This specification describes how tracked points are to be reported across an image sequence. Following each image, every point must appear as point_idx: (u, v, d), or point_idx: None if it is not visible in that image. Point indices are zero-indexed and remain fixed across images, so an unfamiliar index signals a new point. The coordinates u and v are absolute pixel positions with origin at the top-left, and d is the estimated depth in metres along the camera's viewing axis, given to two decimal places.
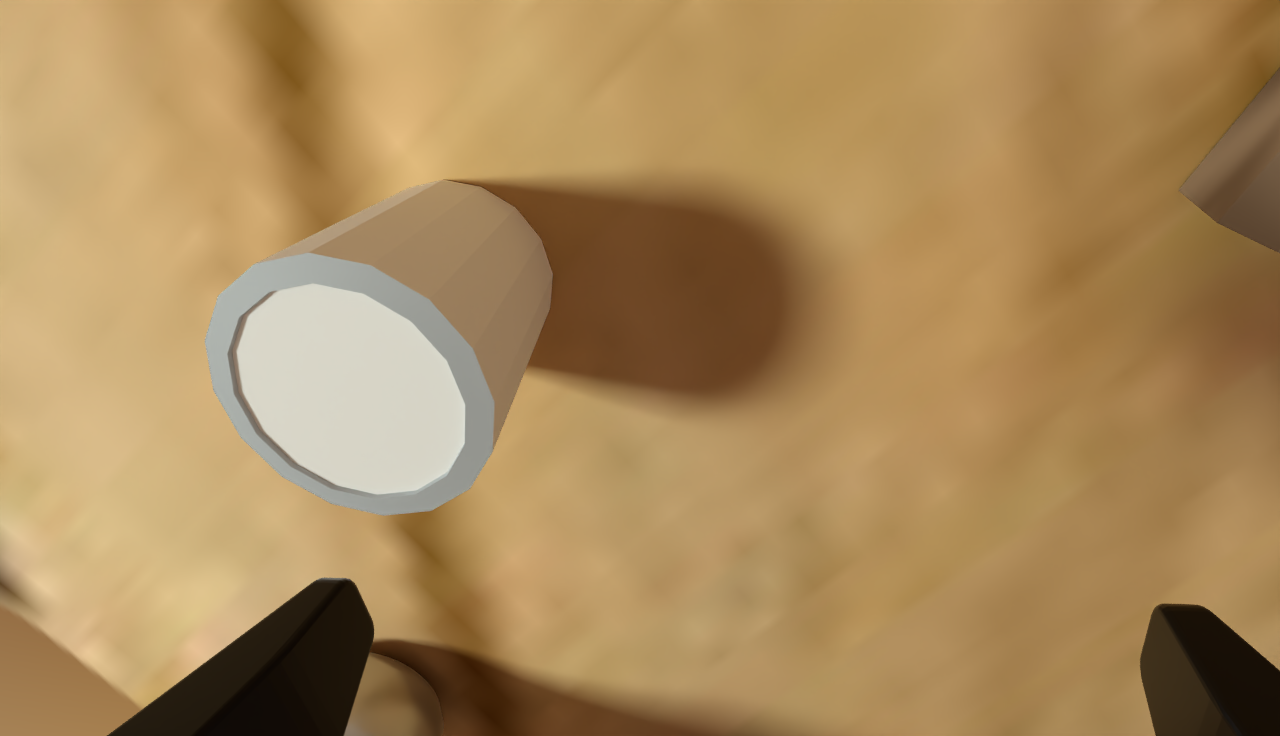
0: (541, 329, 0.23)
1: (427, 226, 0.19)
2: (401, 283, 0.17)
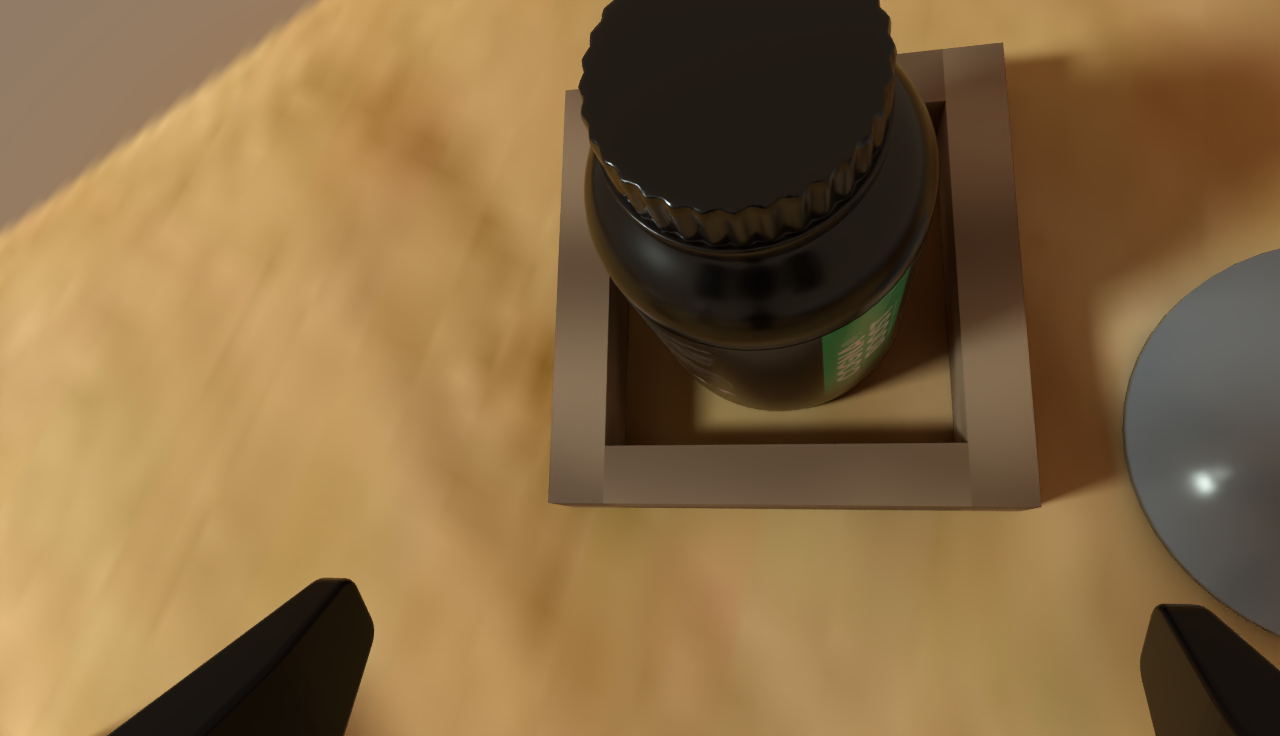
0: None
1: None
2: None
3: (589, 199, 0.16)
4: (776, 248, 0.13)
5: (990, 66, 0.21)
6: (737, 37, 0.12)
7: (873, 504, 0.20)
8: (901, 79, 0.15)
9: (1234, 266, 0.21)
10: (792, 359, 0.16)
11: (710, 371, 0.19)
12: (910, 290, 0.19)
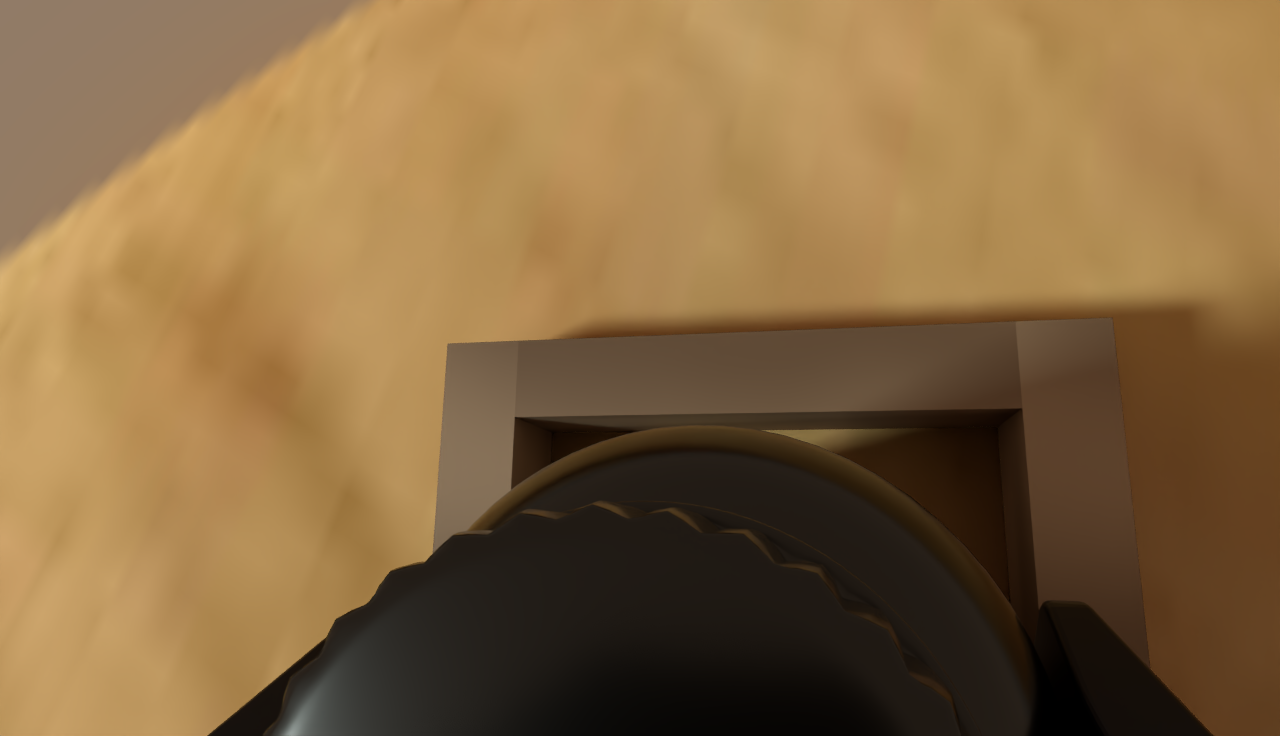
0: None
1: None
2: None
3: None
4: None
5: (1093, 356, 0.14)
6: None
7: None
8: (1004, 662, 0.07)
9: None
10: None
11: None
12: None
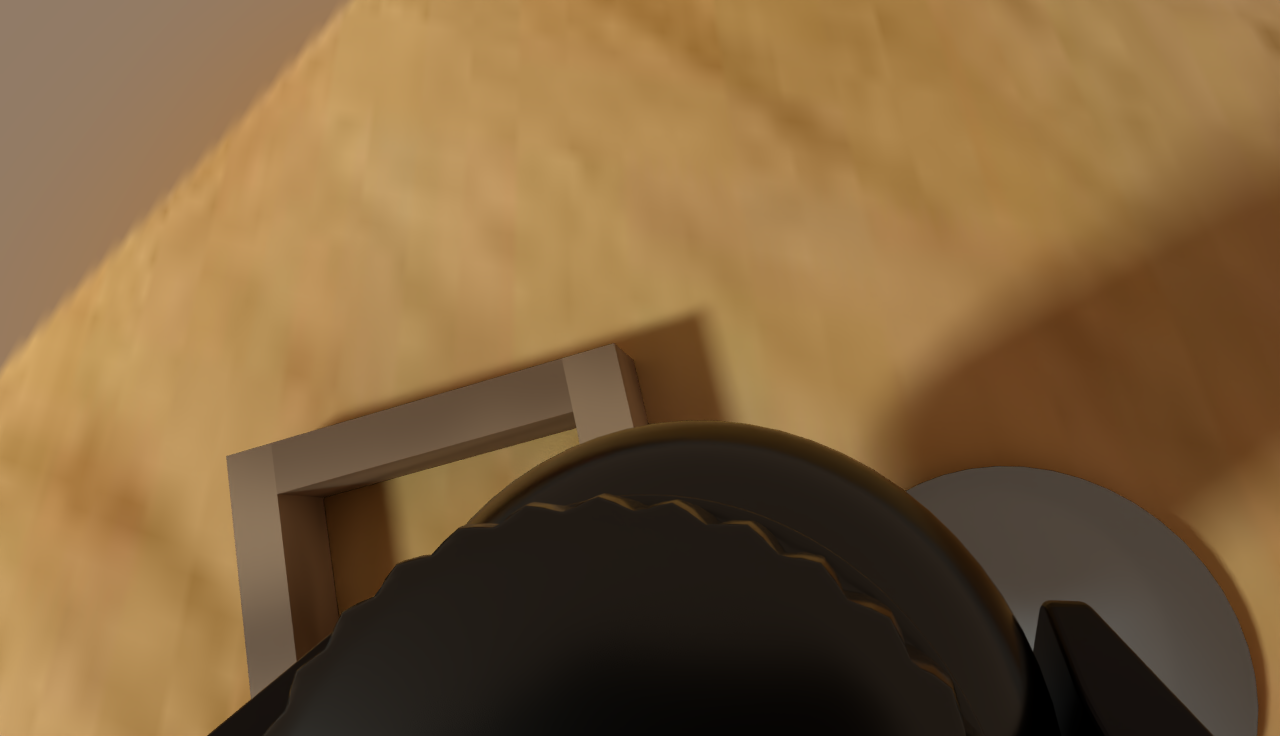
0: None
1: None
2: None
3: None
4: None
5: (607, 369, 0.22)
6: None
7: None
8: (997, 652, 0.07)
9: None
10: None
11: None
12: None
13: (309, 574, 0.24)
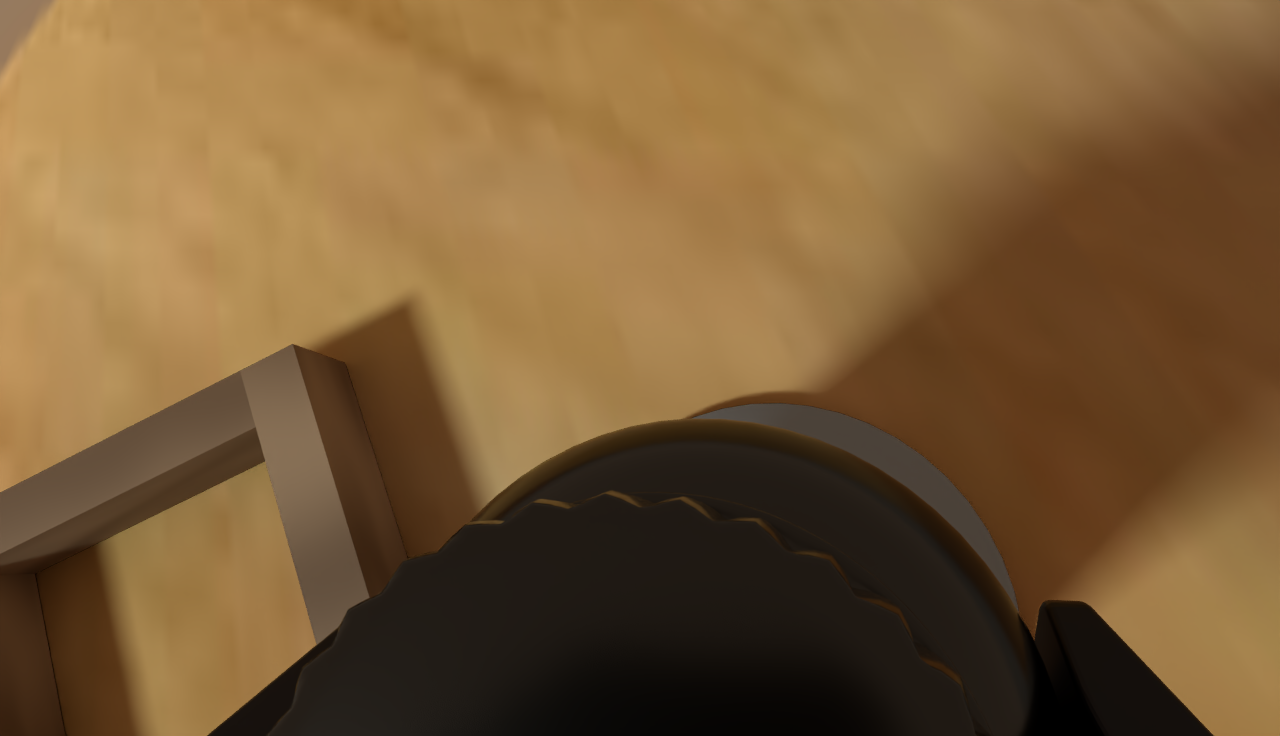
0: None
1: None
2: None
3: None
4: None
5: (287, 374, 0.19)
6: None
7: None
8: (1003, 650, 0.07)
9: None
10: None
11: None
12: None
13: (9, 662, 0.21)
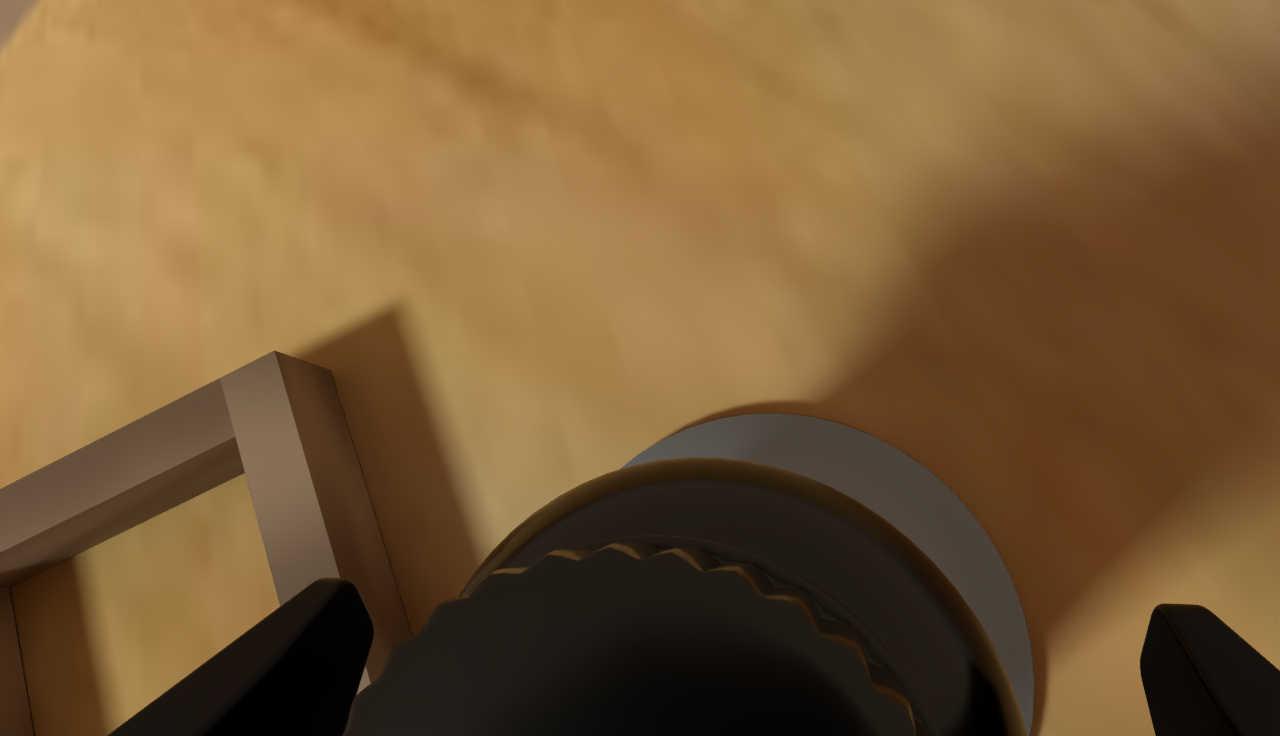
0: None
1: None
2: None
3: None
4: None
5: (268, 382, 0.19)
6: None
7: None
8: (968, 668, 0.08)
9: None
10: None
11: None
12: None
13: None
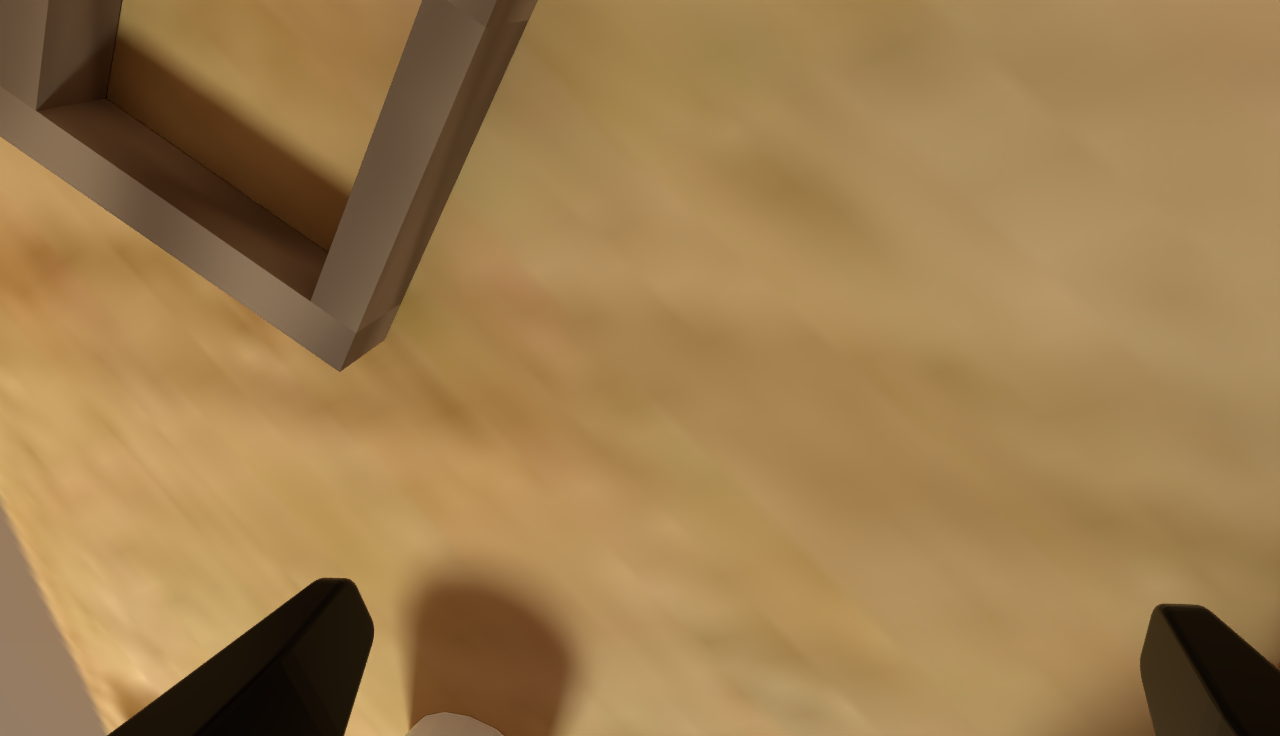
0: None
1: None
2: None
3: None
4: None
5: None
6: None
7: (446, 116, 0.19)
8: None
9: None
10: None
11: None
12: None
13: (138, 151, 0.23)
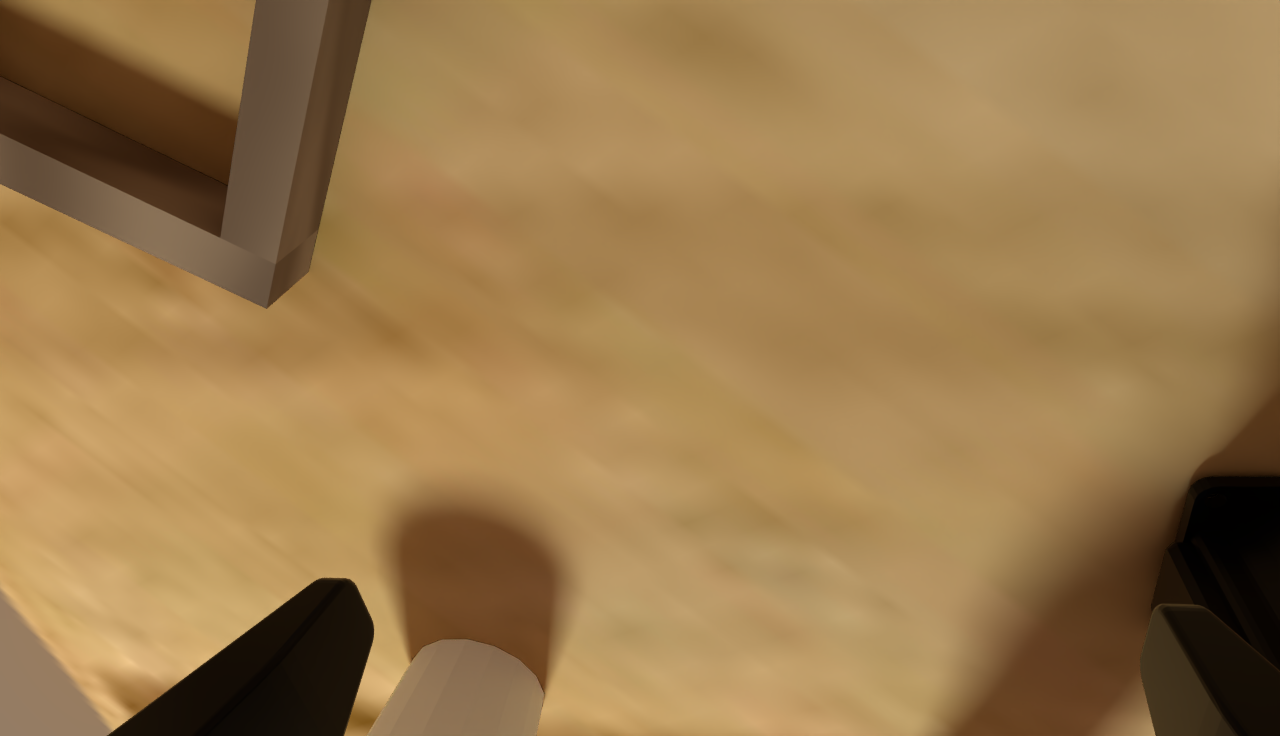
0: (484, 673, 0.31)
1: None
2: None
3: None
4: None
5: None
6: None
7: (326, 8, 0.17)
8: None
9: None
10: None
11: None
12: None
13: None
